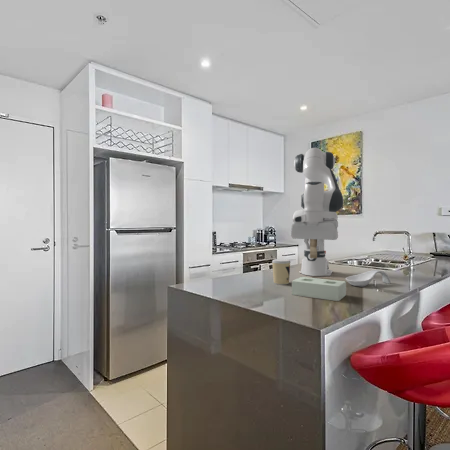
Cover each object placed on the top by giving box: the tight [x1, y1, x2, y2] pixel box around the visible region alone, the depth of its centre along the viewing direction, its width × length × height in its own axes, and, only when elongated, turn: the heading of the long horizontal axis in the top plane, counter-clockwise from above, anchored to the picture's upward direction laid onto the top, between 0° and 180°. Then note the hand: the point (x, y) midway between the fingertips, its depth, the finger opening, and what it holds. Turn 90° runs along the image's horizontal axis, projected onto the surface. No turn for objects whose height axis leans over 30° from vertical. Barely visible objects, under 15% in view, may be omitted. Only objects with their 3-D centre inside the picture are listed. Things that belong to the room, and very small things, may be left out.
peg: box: [310, 239, 317, 258], centre depth 138 cm, size 3×3×10 cm
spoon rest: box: [345, 269, 391, 288], centre depth 158 cm, size 24×12×7 cm, turn 108°
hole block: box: [291, 276, 347, 302], centre depth 137 cm, size 12×20×6 cm, turn 55°
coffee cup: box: [271, 258, 291, 286], centre depth 162 cm, size 9×9×12 cm
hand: (313, 249), depth 138 cm, fingers closed on peg, 3 cm apart
